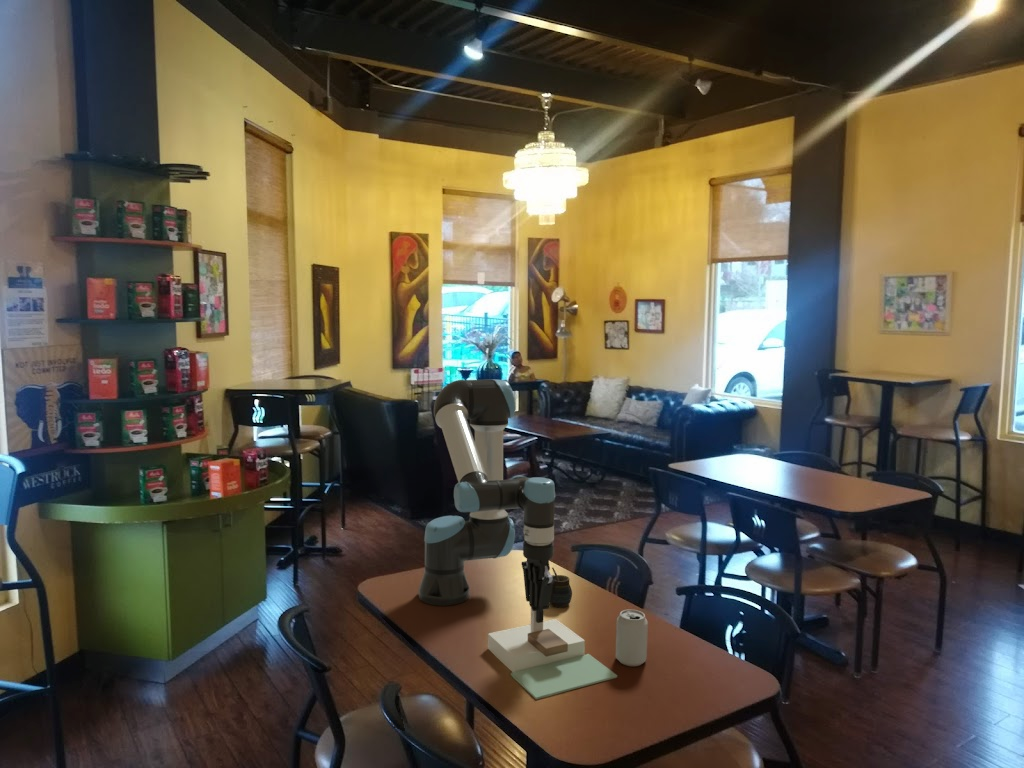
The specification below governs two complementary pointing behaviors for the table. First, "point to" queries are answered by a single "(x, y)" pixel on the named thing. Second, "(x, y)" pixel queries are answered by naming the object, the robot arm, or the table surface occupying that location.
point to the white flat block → (531, 646)
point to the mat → (562, 676)
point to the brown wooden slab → (547, 642)
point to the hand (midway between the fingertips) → (536, 632)
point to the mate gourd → (561, 591)
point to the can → (631, 637)
